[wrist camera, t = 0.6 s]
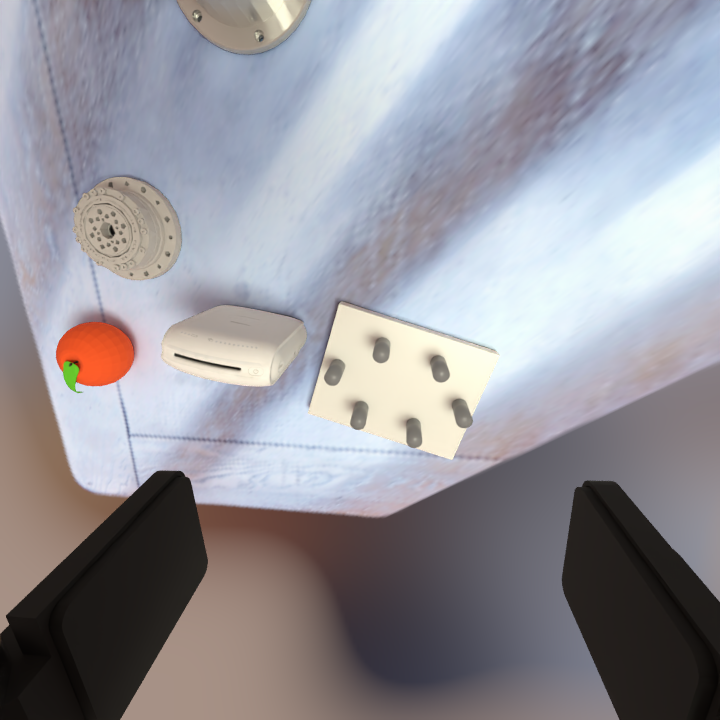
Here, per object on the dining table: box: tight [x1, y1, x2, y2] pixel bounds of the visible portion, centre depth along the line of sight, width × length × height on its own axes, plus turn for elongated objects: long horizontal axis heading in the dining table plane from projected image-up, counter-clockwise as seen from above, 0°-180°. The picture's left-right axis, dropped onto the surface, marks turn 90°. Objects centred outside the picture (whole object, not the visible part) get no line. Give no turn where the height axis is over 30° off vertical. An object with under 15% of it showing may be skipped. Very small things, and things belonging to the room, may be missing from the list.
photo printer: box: [161, 305, 307, 386], centre depth 36 cm, size 10×4×12 cm, turn 79°
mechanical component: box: [73, 177, 182, 280], centre depth 38 cm, size 10×4×10 cm
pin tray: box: [308, 301, 500, 460], centre depth 40 cm, size 17×13×5 cm
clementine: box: [56, 322, 134, 393], centre depth 42 cm, size 8×7×7 cm
